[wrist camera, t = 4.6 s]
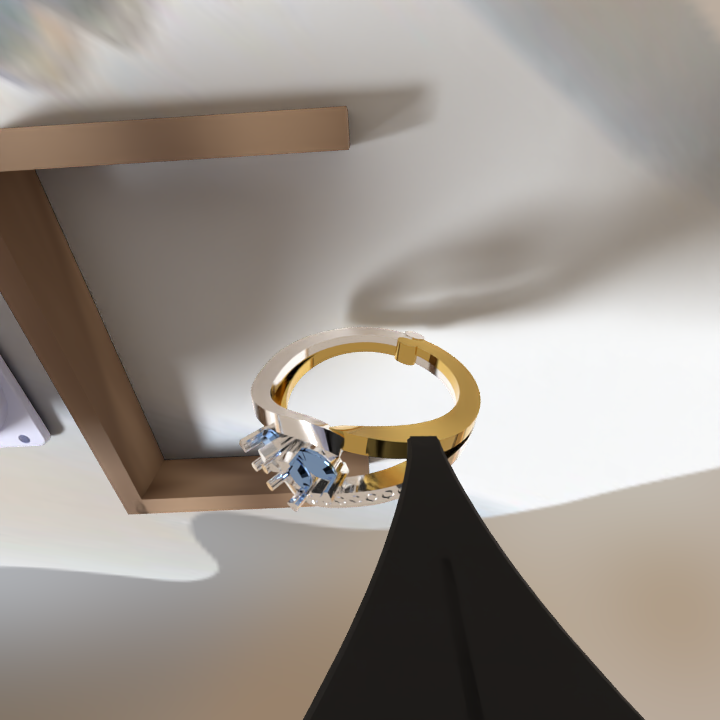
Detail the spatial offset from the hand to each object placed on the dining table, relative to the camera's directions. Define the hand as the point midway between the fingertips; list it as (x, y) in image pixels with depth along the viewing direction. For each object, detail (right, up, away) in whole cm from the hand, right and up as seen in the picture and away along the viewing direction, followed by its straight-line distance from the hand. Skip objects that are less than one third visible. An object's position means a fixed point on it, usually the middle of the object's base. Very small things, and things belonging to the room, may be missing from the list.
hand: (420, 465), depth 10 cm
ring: (+1, +3, +6) cm, 7 cm away
